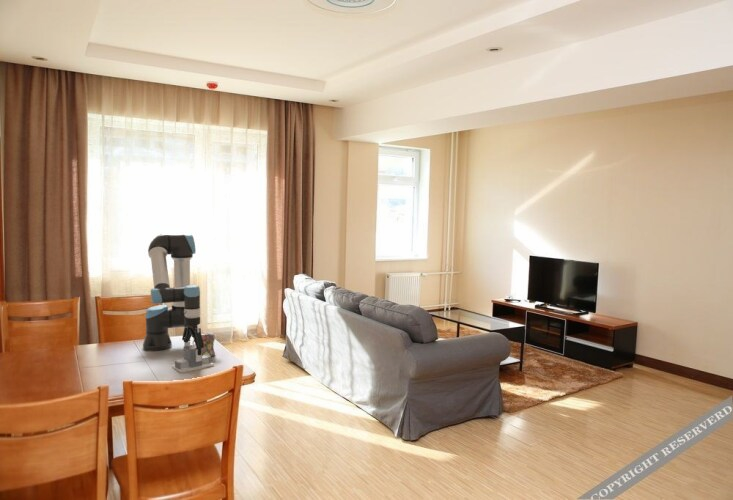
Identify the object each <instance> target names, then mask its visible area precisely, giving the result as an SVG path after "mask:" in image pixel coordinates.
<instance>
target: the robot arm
mask: <svg viewBox="0 0 733 500" xmlns="http://www.w3.org/2000/svg"><path fill="white" fill-rule="evenodd" d="M195 242H196V241H195V239H194V236H193V234H191V233H187V232H181V233H180V232H179V233H177V232H176V233H160V234H159V235H157V236H155V238H153V239H152V240H151V242H150V243H149V245H148V250H147V252H148V253H147V254H148V257H149V258H150V263H151V270H152V279H153V288H151V289H150V302H151V303H152V304H160V305H154V306H151V307H148V308H147V309H145V310H146V311H145V337H144V340H143V343H142V349H143V350H145V351H153V352H154V351H156V352H157V351H163V350H167V349H170V348H172V346H173V345H172V344H173V343H172V339H171V337H170V335H169V329H172V328H173V329H174V328H175V329H176V328H183V333H182V339H181V340H182V341H183V343H184V346H189V345H191V338H193V341H194V342H193V343H194V345H196V348H195V349H196V362H198V361H202V348H204V345H203V340H202V335H203V334H202V331H201V329H202V328H201V327H198V325H200V324H201V288H200V286H199V285H193V284H191V259H192V258H193V255H195V254H196V243H195ZM168 255H170V259H172V260H173V279H174V280H173V281H174V283H173V284H174V285H173V286H174V287H171V286H170V278H169V270H168V262H167V257H168ZM168 303H171V307H169V306H168V305H166V304H168ZM184 346H183V347H184Z"/></svg>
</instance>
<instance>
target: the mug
mask: <svg viewBox="0 0 733 500" xmlns="http://www.w3.org/2000/svg"><path fill="white" fill-rule="evenodd" d="M201 335H202V340H203V345H204V348H202V356H203V355H205V354H207V355H209V356H211V357H213V356H215V355H216V351H215V349H214V348H215V347H214V343H215V341H216V340H215V339H216V338H217V335H216V334H209V333H206V334H201ZM192 345H195V342H194V340H192Z"/></svg>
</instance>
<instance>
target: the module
mask: <svg viewBox="0 0 733 500" xmlns="http://www.w3.org/2000/svg"><path fill="white" fill-rule="evenodd" d="M195 348H196V345H195V344H194V345H193V344H190V345H189V346H183V359H186V360H188V361H190V368H192V367H197V366H202V361H198V362H196V349H195Z"/></svg>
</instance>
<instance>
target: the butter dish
mask: <svg viewBox="0 0 733 500" xmlns="http://www.w3.org/2000/svg"><path fill="white" fill-rule="evenodd" d="M214 366H215V364H214V363H213V362H212V356H209V355H207V354H205V355H203V356H202V366H197V367H192V368H190V361H188V360H186V359H184V358H183V359H178V360H177V359H175V360H174V364H172V365H171V368H172V369H174V370H175V371H177V372H179V373H180V374H182V373H187V372H191V371H196V370H201V369H205V368H210V367H214Z"/></svg>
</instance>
